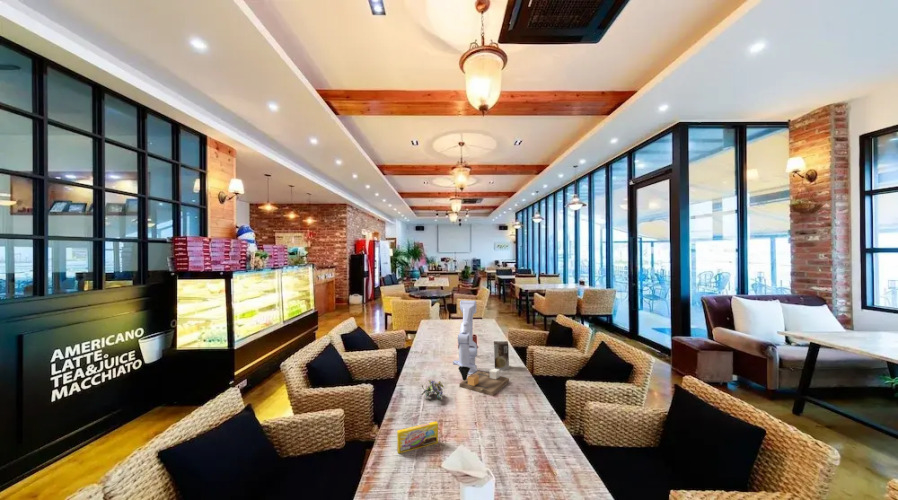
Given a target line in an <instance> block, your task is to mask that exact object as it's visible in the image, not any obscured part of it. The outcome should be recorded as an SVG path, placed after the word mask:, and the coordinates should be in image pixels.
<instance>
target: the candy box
mask: <svg viewBox="0 0 898 500" xmlns="http://www.w3.org/2000/svg"><path fill="white" fill-rule="evenodd" d="M396 439H397V440H396V444H397V445H396V451H397V454H398V455H399V454H403V453H406V452H410V451H413V450H417V449H421V448H424V447H429V446H431V445H432V446H433V445H436V444H439V422H438V421H431V422H427V423H422V424H419V425H413V426H410V427H406V428H402V429H397V430H396Z"/></svg>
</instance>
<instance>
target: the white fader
mask: <svg viewBox="0 0 898 500" xmlns="http://www.w3.org/2000/svg"><path fill="white" fill-rule="evenodd" d="M489 374H490V378H492V379H497V378H499V377H500V376H501V369H495V367H494V368H491V369H490V370H489Z"/></svg>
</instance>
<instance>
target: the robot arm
mask: <svg viewBox="0 0 898 500" xmlns="http://www.w3.org/2000/svg"><path fill="white" fill-rule="evenodd" d="M459 309H460V312H461V313H462V322H461V323H460V326H459V327H460V328H459V333H458V334H457V345H458V356H459V357H458V358H459V359H458V360H453V361H452V365H454V366H458V372H460V375H461V379H462V381H464V380H466V379H467V378H468V375H471V374H475V373H476V372H478V371H479V370H478V369H477V368H478V367H477V364H476V357H478V345H477V342H475V341H474V340H473V338H474V336H473V334H474V332H473V330H474V327H473V325H474V324H473V323H474V315H475V314H476V313H477V301H476V300H464V299H461V300H460V301H459Z"/></svg>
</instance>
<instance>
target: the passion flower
mask: <svg viewBox="0 0 898 500" xmlns="http://www.w3.org/2000/svg"><path fill="white" fill-rule="evenodd" d="M428 383H429V384H430V386H427V388H426V389H425V387H424V385H423V384H422V385H421V388H422V389H423V392H422V393H421V396H423V395H424V394H425V398H424V399H425V400H426V399H427V397H429V395H430V394H431V393H432V394H435V393H436V397H437V399H438V400H439V401H440V400H443V397H442V395H443V390H444V389H443V388H444V385H443V383H442V382H441V380H439V381H438V382H437V381H435V380H431V379H429V380H428Z"/></svg>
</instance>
